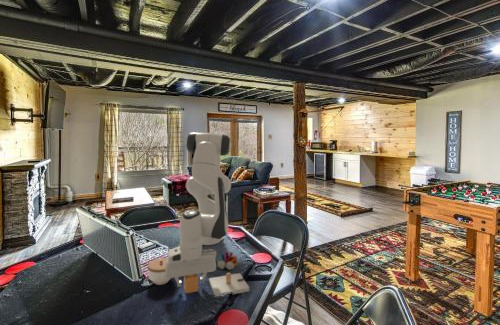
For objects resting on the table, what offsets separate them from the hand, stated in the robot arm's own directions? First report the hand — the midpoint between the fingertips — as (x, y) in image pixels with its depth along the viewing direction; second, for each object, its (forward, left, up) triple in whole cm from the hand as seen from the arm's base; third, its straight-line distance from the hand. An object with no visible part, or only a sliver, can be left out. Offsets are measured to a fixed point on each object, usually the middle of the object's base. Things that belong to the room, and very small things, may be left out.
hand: (190, 283), depth 108 cm
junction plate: (+3, +15, -2) cm, 15 cm away
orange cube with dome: (0, 0, -2) cm, 2 cm away
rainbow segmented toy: (-13, +19, -2) cm, 24 cm away
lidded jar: (-10, -11, -2) cm, 15 cm away
